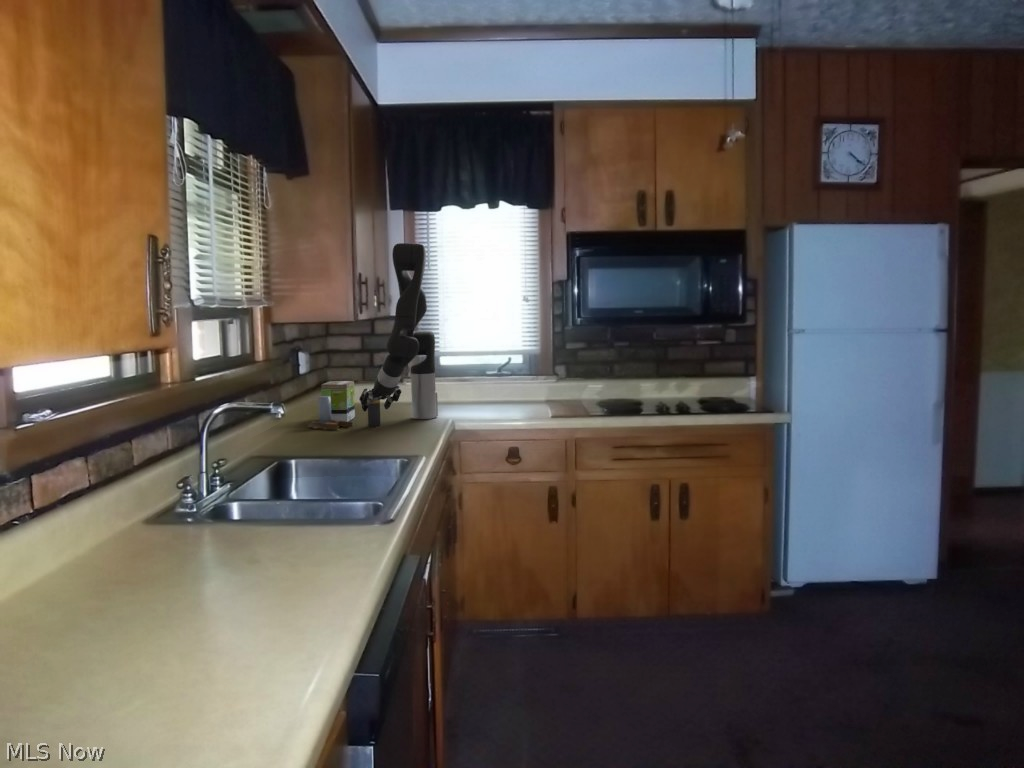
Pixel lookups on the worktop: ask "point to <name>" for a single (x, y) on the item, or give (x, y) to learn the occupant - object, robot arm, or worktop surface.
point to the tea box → (340, 399)
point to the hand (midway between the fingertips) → (374, 408)
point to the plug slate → (324, 409)
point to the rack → (330, 424)
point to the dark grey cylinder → (374, 413)
